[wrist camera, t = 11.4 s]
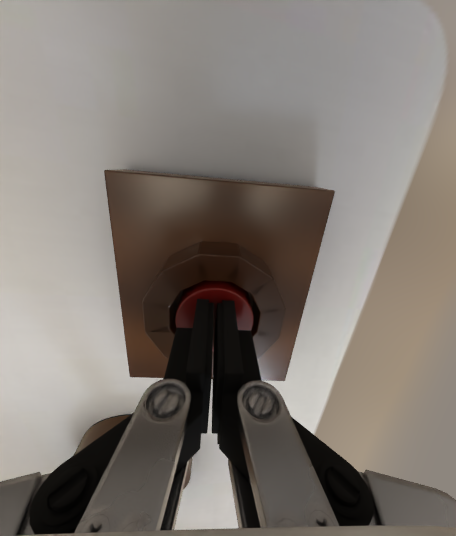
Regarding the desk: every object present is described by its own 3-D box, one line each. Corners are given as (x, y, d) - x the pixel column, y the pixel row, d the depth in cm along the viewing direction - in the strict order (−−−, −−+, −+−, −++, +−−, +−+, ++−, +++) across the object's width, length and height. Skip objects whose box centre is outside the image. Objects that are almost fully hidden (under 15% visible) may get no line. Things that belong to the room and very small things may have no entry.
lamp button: (180, 269, 11) (174, 286, 9) (253, 273, 11) (259, 290, 10) (180, 328, 12) (175, 351, 11) (244, 330, 13) (248, 353, 11)
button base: (123, 169, 11) (78, 170, 8) (315, 186, 12) (358, 195, 8) (140, 351, 16) (118, 405, 12) (277, 355, 17) (293, 408, 13)
